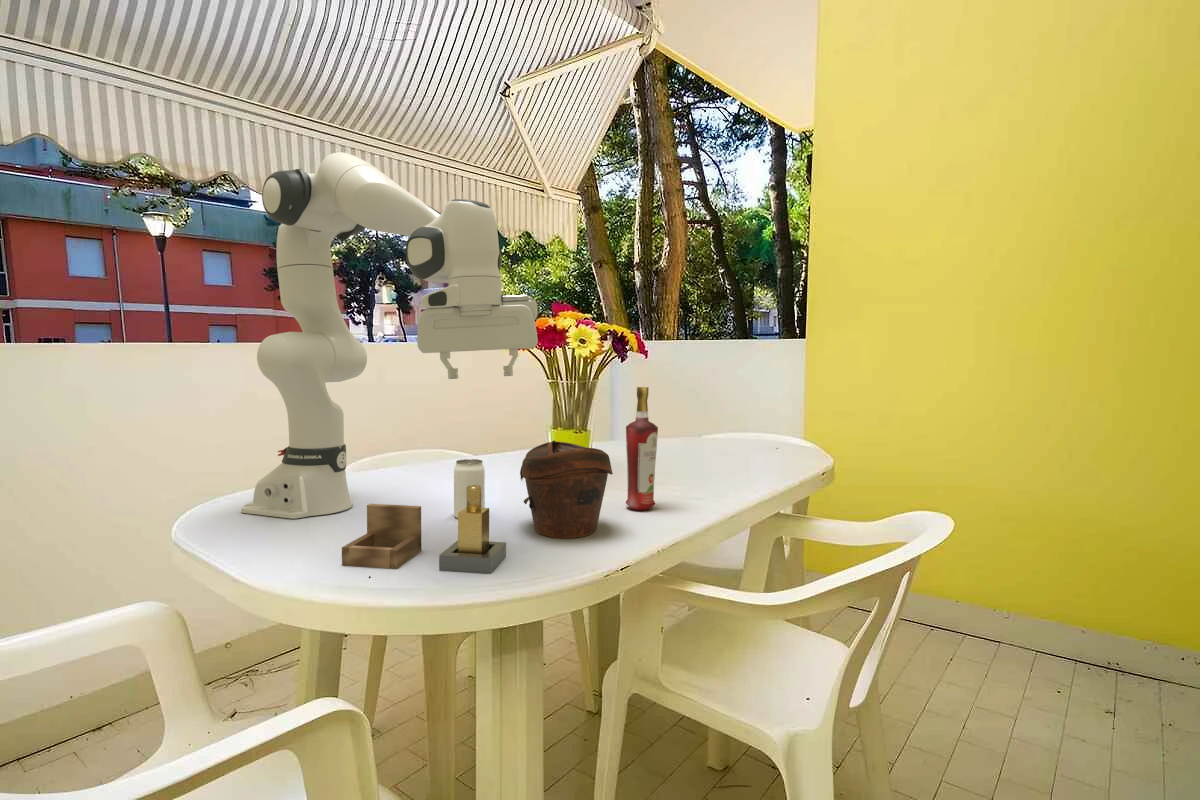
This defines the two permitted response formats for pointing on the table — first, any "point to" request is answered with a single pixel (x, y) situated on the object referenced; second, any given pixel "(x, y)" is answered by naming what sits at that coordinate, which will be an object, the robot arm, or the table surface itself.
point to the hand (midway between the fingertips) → (481, 377)
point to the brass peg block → (473, 524)
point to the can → (467, 482)
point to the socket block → (472, 559)
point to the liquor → (641, 456)
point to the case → (565, 488)
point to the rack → (386, 537)
